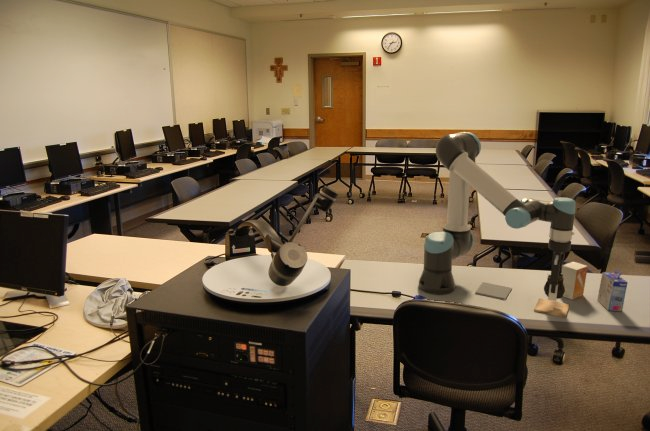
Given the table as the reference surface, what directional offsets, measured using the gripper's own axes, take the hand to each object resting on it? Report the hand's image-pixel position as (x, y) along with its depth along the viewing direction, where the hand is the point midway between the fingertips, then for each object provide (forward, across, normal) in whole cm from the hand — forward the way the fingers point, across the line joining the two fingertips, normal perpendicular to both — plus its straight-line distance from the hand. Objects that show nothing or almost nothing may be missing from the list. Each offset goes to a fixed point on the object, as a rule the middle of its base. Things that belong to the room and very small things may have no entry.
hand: (553, 296), depth 184 cm
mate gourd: (0, 0, 0) cm, 0 cm away
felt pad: (+5, +5, +23) cm, 24 cm away
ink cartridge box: (+6, +14, -19) cm, 24 cm away
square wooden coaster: (+5, 0, 0) cm, 5 cm away
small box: (+6, +17, -5) cm, 19 cm away
